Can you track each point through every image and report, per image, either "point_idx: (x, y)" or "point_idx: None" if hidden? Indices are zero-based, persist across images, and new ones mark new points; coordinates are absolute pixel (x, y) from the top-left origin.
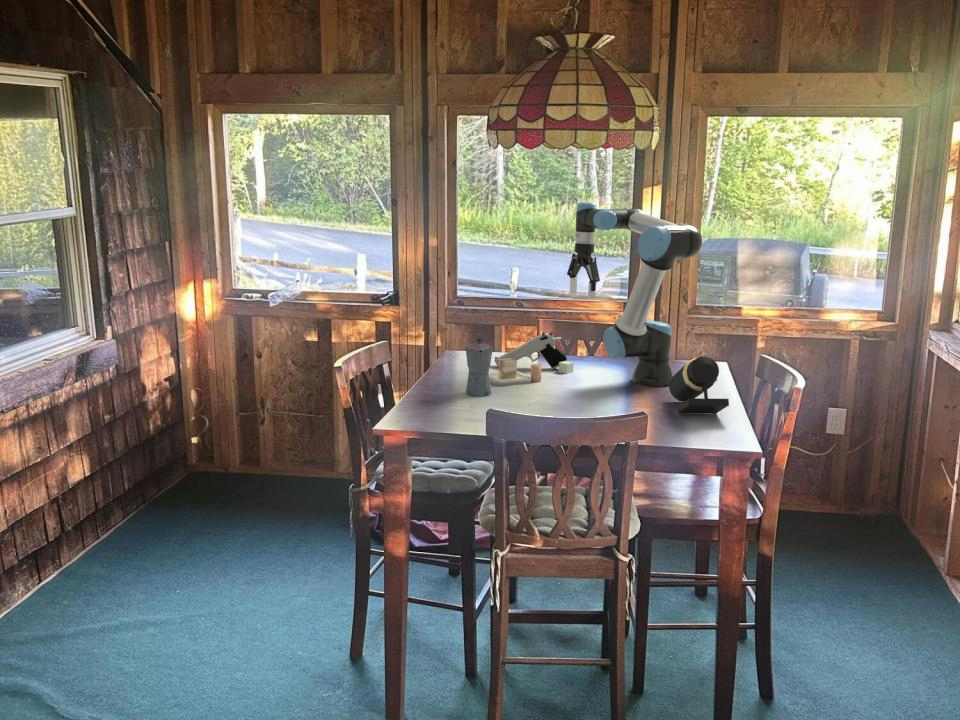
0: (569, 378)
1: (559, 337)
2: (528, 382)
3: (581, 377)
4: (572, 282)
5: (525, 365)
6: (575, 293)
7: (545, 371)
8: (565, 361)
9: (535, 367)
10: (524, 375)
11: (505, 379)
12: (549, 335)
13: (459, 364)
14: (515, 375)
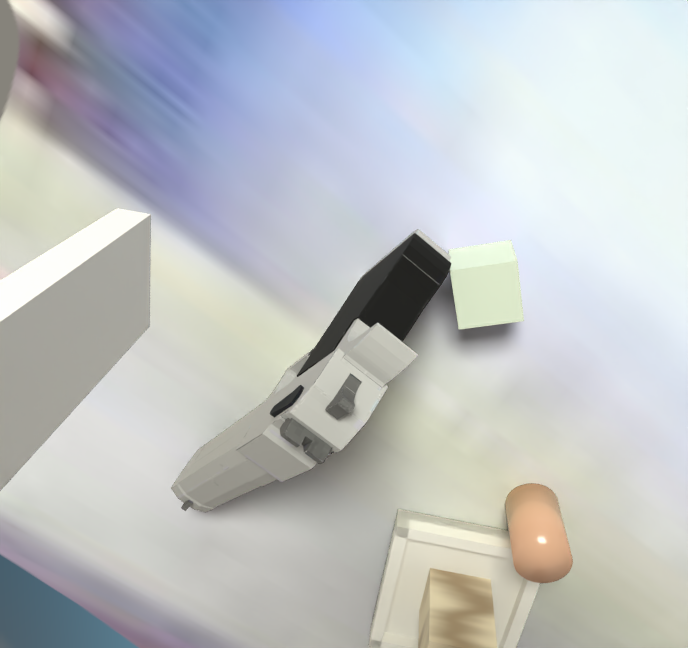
0: (602, 349)
1: (382, 346)
2: None
3: (632, 280)
4: (34, 418)
5: (242, 353)
6: (145, 238)
7: None
8: (462, 281)
9: (560, 575)
10: (497, 554)
11: (504, 644)
12: (360, 428)
13: (107, 563)
14: (490, 597)
